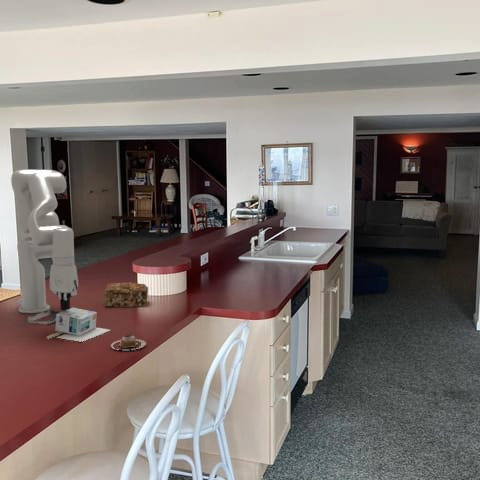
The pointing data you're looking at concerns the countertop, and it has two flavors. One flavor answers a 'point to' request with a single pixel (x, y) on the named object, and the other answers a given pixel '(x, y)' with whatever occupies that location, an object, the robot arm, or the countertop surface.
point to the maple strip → (54, 334)
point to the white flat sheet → (85, 335)
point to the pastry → (129, 342)
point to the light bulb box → (75, 321)
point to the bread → (125, 294)
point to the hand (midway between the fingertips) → (65, 309)
